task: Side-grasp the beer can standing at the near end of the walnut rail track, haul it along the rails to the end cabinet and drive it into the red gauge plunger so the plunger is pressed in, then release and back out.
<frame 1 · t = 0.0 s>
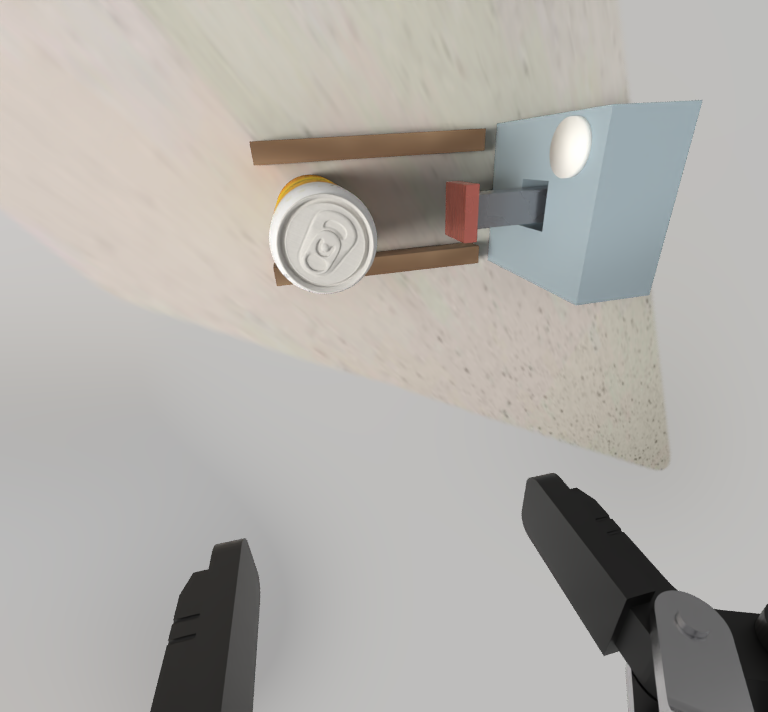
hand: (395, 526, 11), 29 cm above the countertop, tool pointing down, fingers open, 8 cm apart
rail track: (373, 207, 35), on the countertop
end cabinet: (521, 194, 37), on the countertop
beer can: (312, 212, 34), on the countertop
gauge plunger: (514, 206, 30), point 7 cm above the countertop, slide at 0.0 cm
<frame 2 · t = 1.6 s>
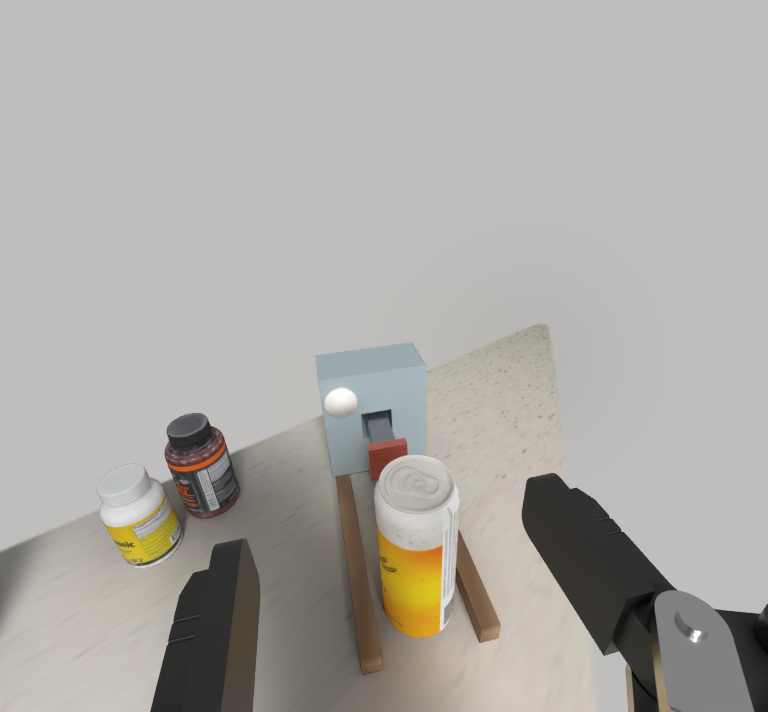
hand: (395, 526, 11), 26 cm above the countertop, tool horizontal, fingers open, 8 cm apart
rail track: (402, 549, 39), on the countertop
end cabinet: (375, 452, 51), on the countertop
beer can: (418, 606, 34), on the countertop
gauge plunger: (379, 432, 44), point 7 cm above the countertop, slide at 0.0 cm
supplement bottle: (214, 501, 46), on the countertop
supplement bottle 2: (156, 547, 41), on the countertop
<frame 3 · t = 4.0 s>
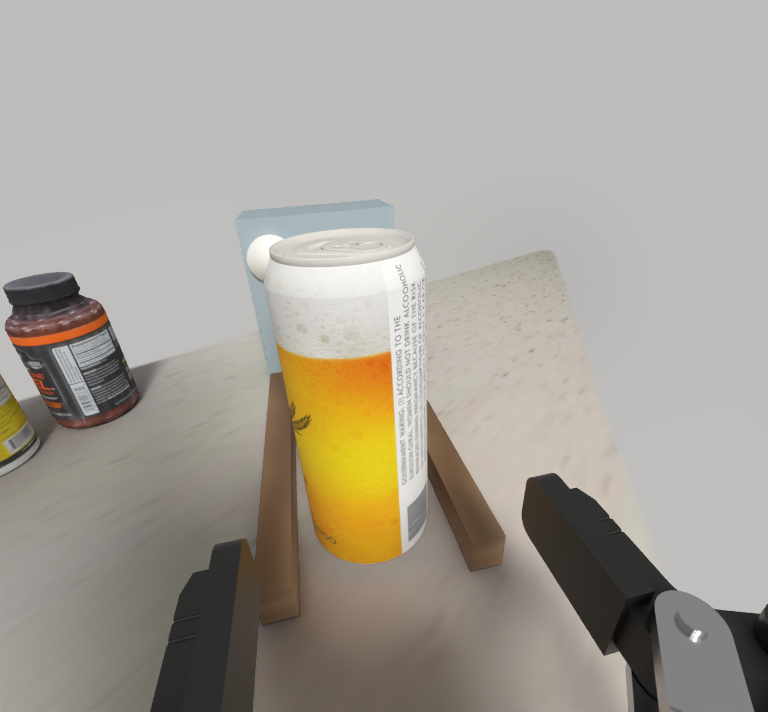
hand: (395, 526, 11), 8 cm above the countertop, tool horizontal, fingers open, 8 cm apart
rail track: (356, 454, 26), on the countertop
end cabinet: (334, 357, 39), on the countertop
beer can: (372, 524, 21), on the countertop
supplement bottle: (102, 411, 33), on the countertop
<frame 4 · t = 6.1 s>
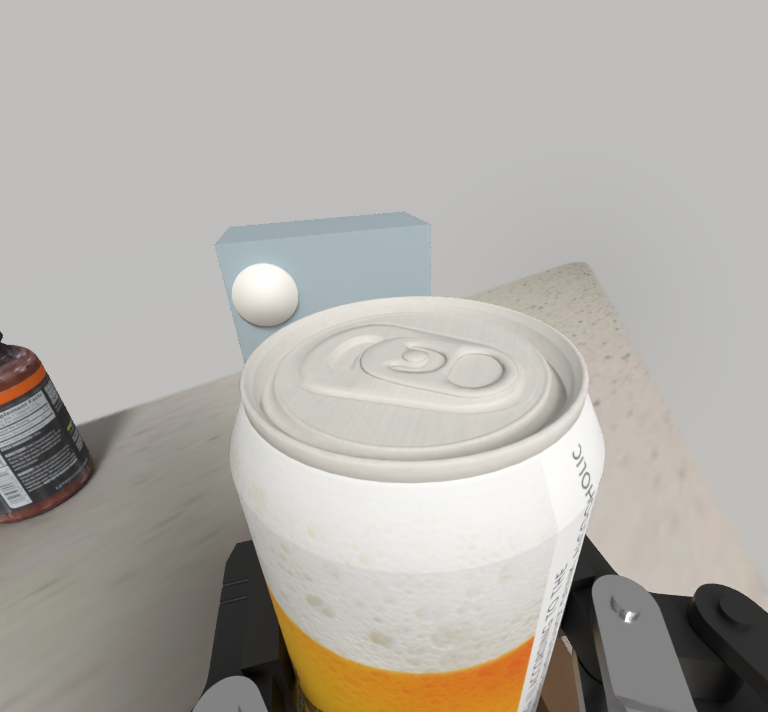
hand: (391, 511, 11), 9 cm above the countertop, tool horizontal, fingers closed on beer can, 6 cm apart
rail track: (385, 585, 18), on the countertop
end cabinet: (345, 409, 31), on the countertop
supplement bottle: (43, 491, 25), on the countertop
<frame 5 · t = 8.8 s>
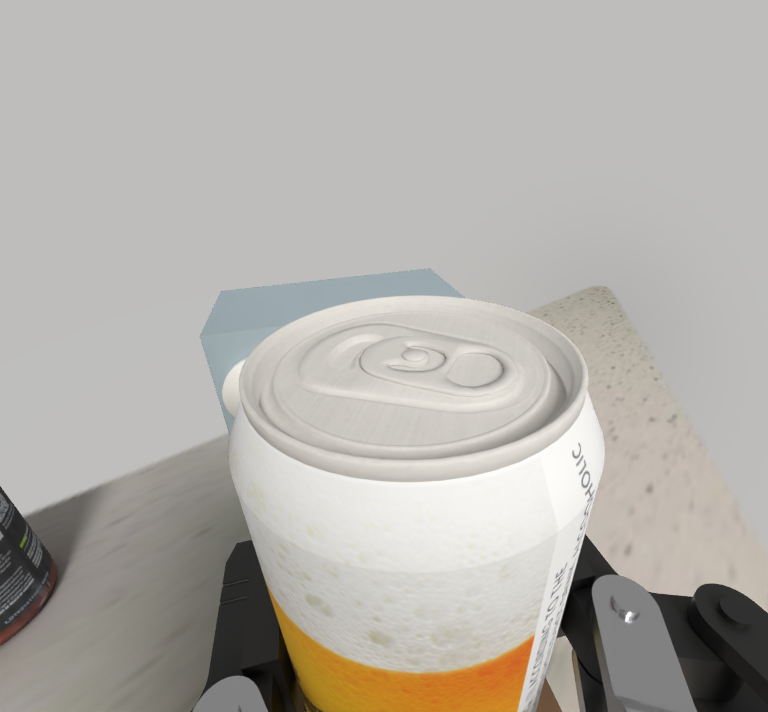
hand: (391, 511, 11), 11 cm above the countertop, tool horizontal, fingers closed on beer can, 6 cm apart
end cabinet: (357, 491, 26), on the countertop
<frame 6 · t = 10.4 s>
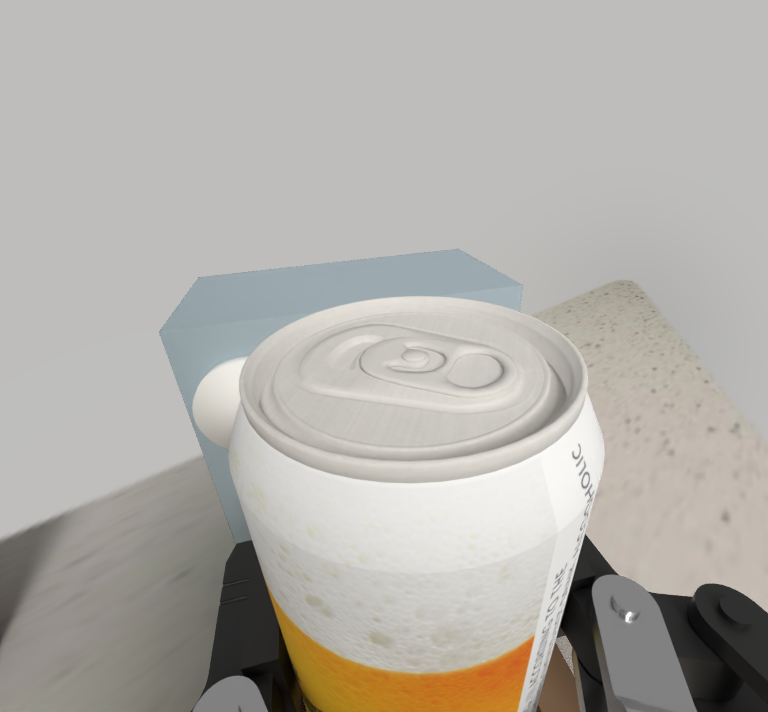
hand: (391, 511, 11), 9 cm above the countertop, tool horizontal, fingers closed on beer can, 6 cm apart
end cabinet: (369, 521, 22), on the countertop
when the fingers open (9 cm above the countertop, at t = 11.3 s): beer can stays where it is, on the countertop.
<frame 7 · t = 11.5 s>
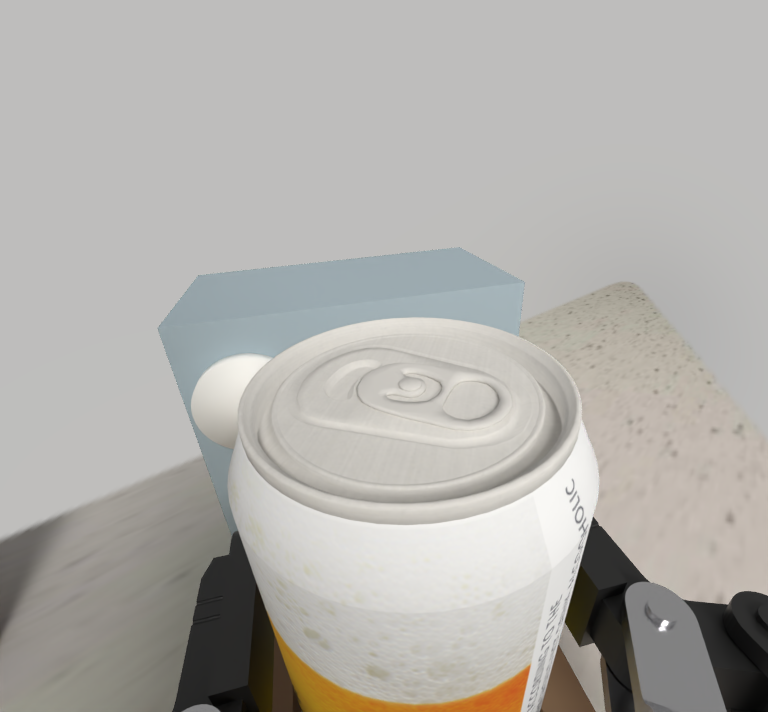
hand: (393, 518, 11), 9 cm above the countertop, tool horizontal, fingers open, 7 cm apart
end cabinet: (369, 522, 22), on the countertop
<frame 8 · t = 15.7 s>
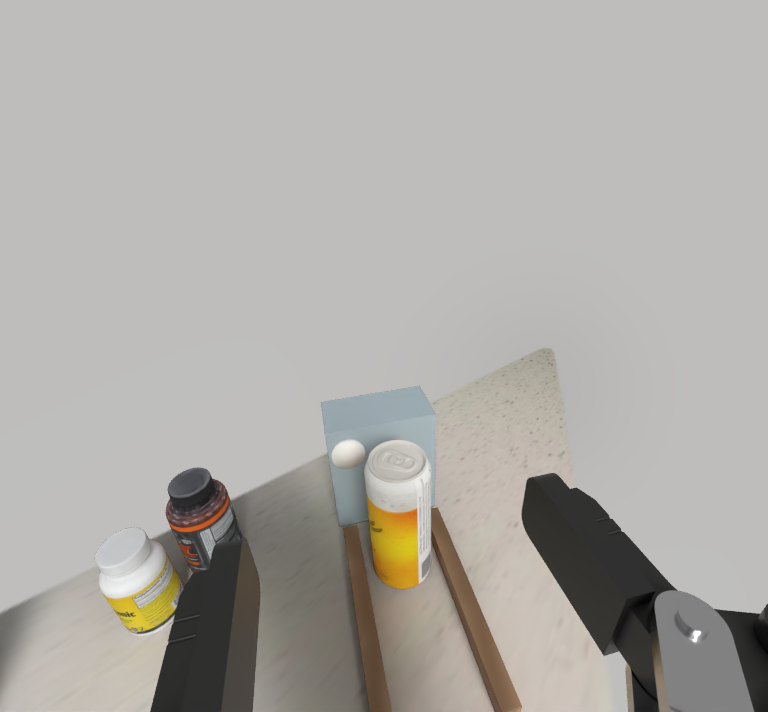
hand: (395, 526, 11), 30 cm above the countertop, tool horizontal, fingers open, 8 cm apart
rail track: (414, 611, 37), on the countertop
end cabinet: (383, 497, 50), on the countertop
beer can: (402, 566, 42), on the countertop
supplement bottle: (217, 554, 44), on the countertop
supplement bottle 2: (158, 610, 39), on the countertop
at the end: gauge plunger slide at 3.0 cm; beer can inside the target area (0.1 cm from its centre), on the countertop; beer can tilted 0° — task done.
